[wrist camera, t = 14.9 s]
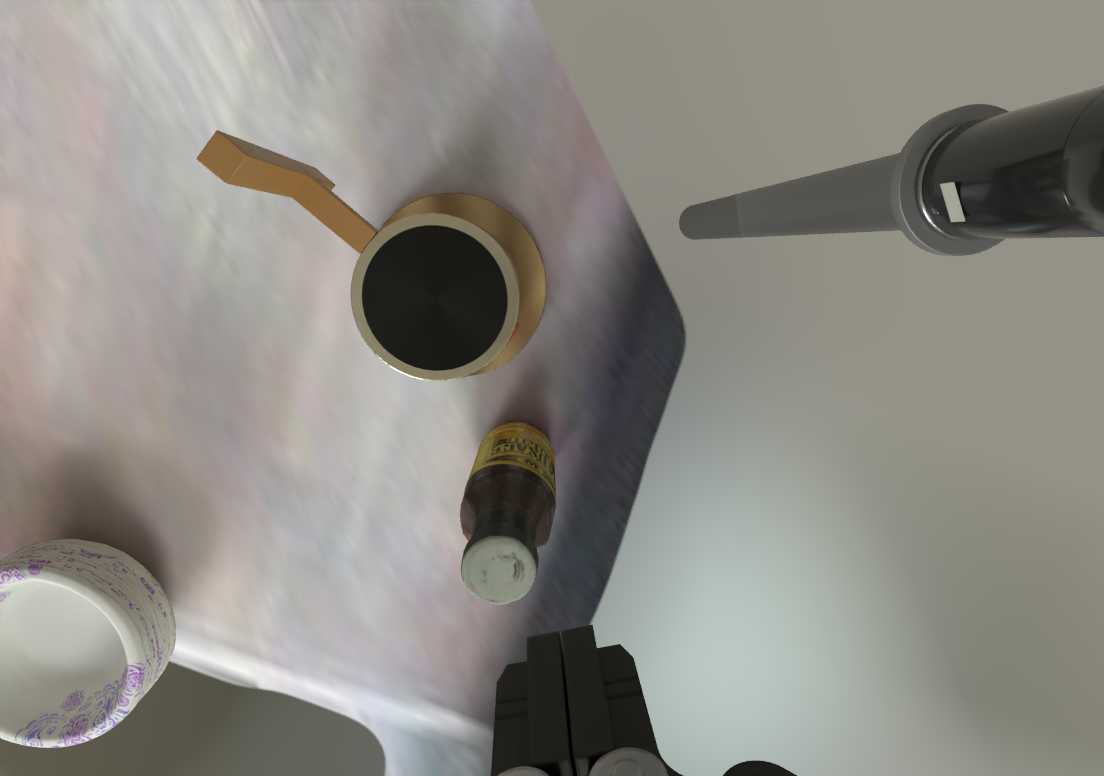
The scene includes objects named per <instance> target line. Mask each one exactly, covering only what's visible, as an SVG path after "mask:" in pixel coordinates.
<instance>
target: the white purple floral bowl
mask: <svg viewBox="0 0 1104 776" xmlns="http://www.w3.org/2000/svg"><path fill="white" fill-rule="evenodd" d="M175 630H176V627H175V618H174V614H173V610H172V606H171V604H170V601H169V599H168V597H167V595H166V593H165V592H164V590H163V589H162V587H161V585H160V584H159V582H158V581H157V580H156V579H155V578H154V577H153V576H152V574H151V573H150V572H149V571H148V570H147V569H146V568H145V567H144V566H143V565H142V564H140V563H139V562H138V561H136V560H134V559H133V558H132V557H131V556H129V555H127V554H126V553H125V552H123V551H120V550H118V549H115V548H113V547H111V546H109V545H106V544H102V543H97V542H91V541H85V540H79V539H61V540H57V539H54V540H48V541H43V542H39V543H35V544H33V545H30V546H27V547H25V548H23V549H21V550H19V551H17V552H15V553H13V554H10V555H8V556H6V557H4V558H3V559H1V560H0V738H2V739H4V740H7V741H11V742H13V743H18V744H21V745H26V746H33V747H47V748H48V747H49V748H50V747H51V748H53V747H65V746H71V745H76V744H80V743H82V742H86V741H88V740H91V739H93V738H96V737H98V736H100V735H102V734H104V733H105V732H107V731H108V730H110V729H112V728H113V727H114V726H115V725H116V724H118V723H119V722H120V721H122V720H123V719H124V718H125V717H126V716H127V715H128V714H129V713H130V712H131V711H132V710H133V708H134V707H135V706H136V704H137V703H138V702H139V701H140V699H141V698H142V697H143V696H144V695H145V694H146V693H147V692H148V691H149V689H150V688H151V687H152V685H153V684H154V683H155V682H156V680H157V679H158V678H159V677H160V675H161V674H162V672H163V671H164V669H165V667H166V666H167V664H168V662H169V660H170V658H171V656H172V653H173V650H174V647H175V640H176V639H175V638H176V634H175Z"/></svg>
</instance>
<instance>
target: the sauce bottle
mask: <svg viewBox="0 0 1104 776" xmlns="http://www.w3.org/2000/svg"><path fill="white" fill-rule="evenodd" d="M555 509H556V485H555V460H554V451H553V449H552V446H551V444H550V442H549V440H548V439H547V437H546V436H545V435H544V434H543V433H542V431H541V430H540V429H538V428H537V427H535V426H534V425H533V424H529V423H525V422H518V421H515V422H513V421H509V422H505V423H504V424H501V425H500V426H498V427H496V428H494V429H493V430H492V431H490V432H489V433H488V434H487V436H486V437H485V438H484V440H483V441H482V443H481V445H480V447H479V450H478V453H477V456H476V459H475V462H474V465H473V468H472V470H471V473H470V476H469V479H468V482H467V484H466V487H465V492H464V497H463V500H462V503H461V511H460V519H461V520H460V521H461V526H462V530H463V534H464V535H465V537H466V538H467V540H468V541H469V542H468V543H467V545H466V547H465V550H464V553H463V557H462V564H461V574H462V578H463V582H464V583H465V584H466V587H467V588H468V590H469V591H470V592H471V593H472V594H473V595H474V596H475V597H477V598H479V599H481V600H483V601H486V602H489V603H491V604H508V603H510V602H513V601H516V600H518V599H520V598H522V597H523V596H524V595H525V594H526V593H528V592H529V591H530V589H531V587H532V586H533V585H534V581H535V579H536V576H537V571H538V563H539V559H538V554H537V549H536V548H538V547H540V546H543V545H545V544H546V543H547V541H548V539H549V536H550V531H551V526H552V522H553V518H554V513H555Z"/></svg>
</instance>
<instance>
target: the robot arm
mask: <svg viewBox="0 0 1104 776" xmlns="http://www.w3.org/2000/svg"><path fill="white" fill-rule="evenodd" d="M915 199H916V204H917V208H918V210H919V213H920V215H921V217H922V219H923V220H924V221H925V223H926V224H927V225H928V226H929V227H930V228H931V229H932V230H933V231H935V232H936V233H937V234H939V235H941V236H943V237H946V238H949V239H953V240H977V239H1005V238H1052V237H1053V238H1054V237H1055V238H1056V237H1104V86H1101V87H1097V88H1094V89H1090V90H1086V91H1083V92H1079V93H1076V94H1072V95H1069V96H1065V97H1061V98H1058V99H1054V100H1050V101H1047V102H1043V103H1040V104H1036V105H1032V106H1029V107H1025V108H1021V109H1018V110H1015V111H1010V112H1007V113H1003V114H999V115H995V116H992V117H988V118H985V119H978V120H973V121H969V122H966V123H962V124H959V125H957V126H955V127H953V128H951V129H949V130H947V131H946V132H945V133H943V134H942V135H941V136H939V137H938V138H937V139H936V140H935V141H934V142H933V143H932V145H931V146H930V147H929V148H928V150H927V151H926V153H925V155H924V156H923V158H922V160H921V162H920V165H919V167H918V171H917V174H916V179H915ZM561 633H562V643H561V638H560V633H559V631H556V632H551V633H545V634H540V635H534V636H529V637H527V661H525V662H520V663H514V664H509V665H507V666H506V668H505V669H504V671H503V673H502V675H501V676H500V678H499V680H498V682H497V688H496V705H495V721H494V737H493V753H492V770H491V776H683V775H681V774H679V773H677V772H676V771H674V770H673V769H672V768H670V767H669V766H668V765H667V764H666V763H665V761H664V760H663V759H662V757H661V755H660V753H659V751H658V748H657V744H656V740H655V737H654V733H653V729H652V725H651V722H650V718H649V714H648V711H647V707H646V703H645V699H644V696H643V692H642V688H641V684H640V681H639V677H638V673H637V669H636V666H635V662H634V658H633V657H632V656H631V655H630V654H629V653H628V652H627V651H626V650H625V649H624V648H623V647H622V646H621V645H620V644H618V645H613V646H607V647H602V648H597V647H596V642H595V636H594V630H593V625H588V626H583V627H577V628H572V629H566V630H561ZM562 644H563V648H562ZM723 776H797V775H795V774H793V773H791V772H790V771H788V770H786V769H784V768H782V767H781V766H779V765H776V764H773V763H770V762H765V761H746V762H742V763H739V764H737V765H735V766H733V767H731V768H730V769H729V770H728V771H727V772H726V773H725V774H724V775H723Z"/></svg>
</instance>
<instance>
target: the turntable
mask: <svg viewBox="0 0 1104 776" xmlns="http://www.w3.org/2000/svg"><path fill="white" fill-rule="evenodd" d="M422 213H442V214H449V215H453V216H456V217H460V218H462V219H465V220H467V221H470V222H472V223H474V224H476V225H478V226H480V227H482V228H484V229H485V230H487V231H489V232H491V233H492V234H493V235H494V236H496V237H497V238H498V239H499V240H500V241H501V242H502V243H503V244H504V245H505V247H506V248H507V249H508V251H509V252H510V254H511V256H512V257H513V259H514V262H515V264H516V266H517V270H518V273H519V279H520V303H519V312H518V318H517V322H518V323H519V329H518V332H517V333H516V334H515V336H514V337H513V338H512V339H511V340H510V341H509V343H508V344H507V345H506V346H505V347H504V349H503V350H502V351H501V353H500V354H499V355H498V356H497V357H496V358H495V359H494V360H493V361H492V362H491V363H490V364H488V365H487V366H485V367H484V368H482V369H481V370H479V371H477V372H476V373H473V374H471V375H469V376H472V375H477V374H481V373H485V372H487V371H490V370H493V369H495V368H497V367H499V366H501V365H502V364H504V363H506V362H507V361H509V360H510V359H511V358H513V357H514V356H515V355H516V354H517V353H518V352H519V351H521V350H522V349H523V347H524V346H525V345H526V344H527V342H528V341H529V340H530V339H531V337H532V335H533V334H534V332H535V330H536V328H537V326H538V324H539V322H540V319H541V316H542V313H543V309H544V304H545V298H546V279H545V271H544V267H543V263H542V259H541V256H540V254H539V251H538V249H537V247H536V245H535V243H534V241H533V239H532V238H531V236H530V235H529V233H528V232H527V231H526V229H525V228H524V227H523V226H522V225H521V224H520V222H519V221H518V220H517V219H516V218H515V217H513V216H512V215H511V214H510V213H508V212H507V211H506V210H504V209H503V208H501V207H500V206H498V205H496V204H494V203H492V202H490V201H488V200H486V199H483V198H479V197H476V196H473V195H467V194H461V193H445V194H436V195H432V196H428V197H424V198H421V199H419V200H416V201H414V202H412V203H410V204H408V205H407V206H405V207H403V208H402V209H400V210H399V211H398V212H397V213H395V214H394V215H393V216H392V217H391V218H390V219H389V220H388V221H387V222H386V223H385V224H384V225H383V227H382V228H381V229H380V231H381V230H382V229H383V228H385V227H386V226H388V225H390V224H391V223H393V222H395V221H397V220H399V219H402V218H404V217H408V216H411V215H415V214H422ZM380 231H379V232H380Z"/></svg>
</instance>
